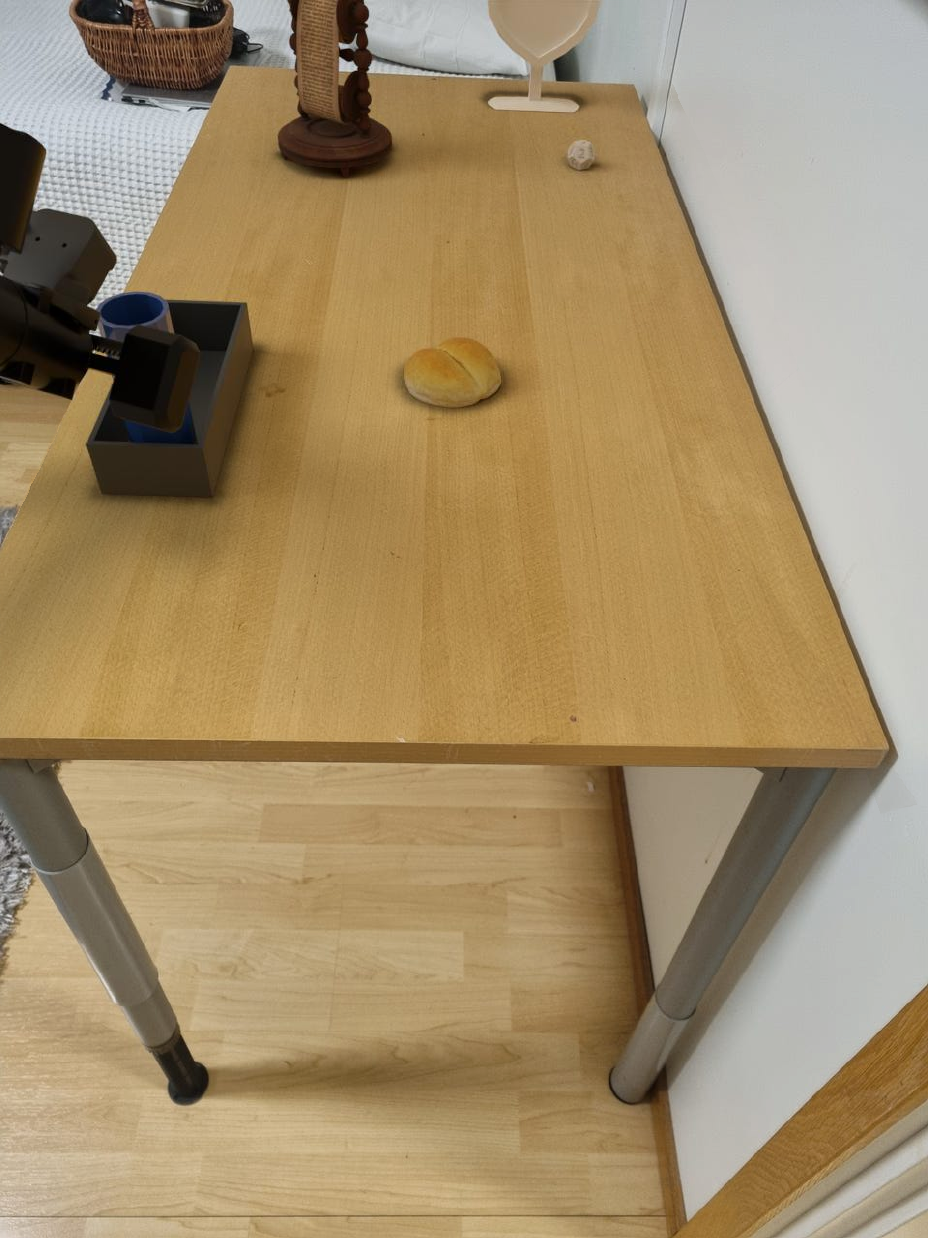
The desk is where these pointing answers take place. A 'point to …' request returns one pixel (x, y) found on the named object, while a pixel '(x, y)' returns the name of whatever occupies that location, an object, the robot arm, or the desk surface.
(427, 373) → the bread roll
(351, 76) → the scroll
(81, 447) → the desk surface
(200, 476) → the basket
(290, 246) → the desk surface
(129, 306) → the cup
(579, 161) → the game die
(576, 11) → the heart sculpture
